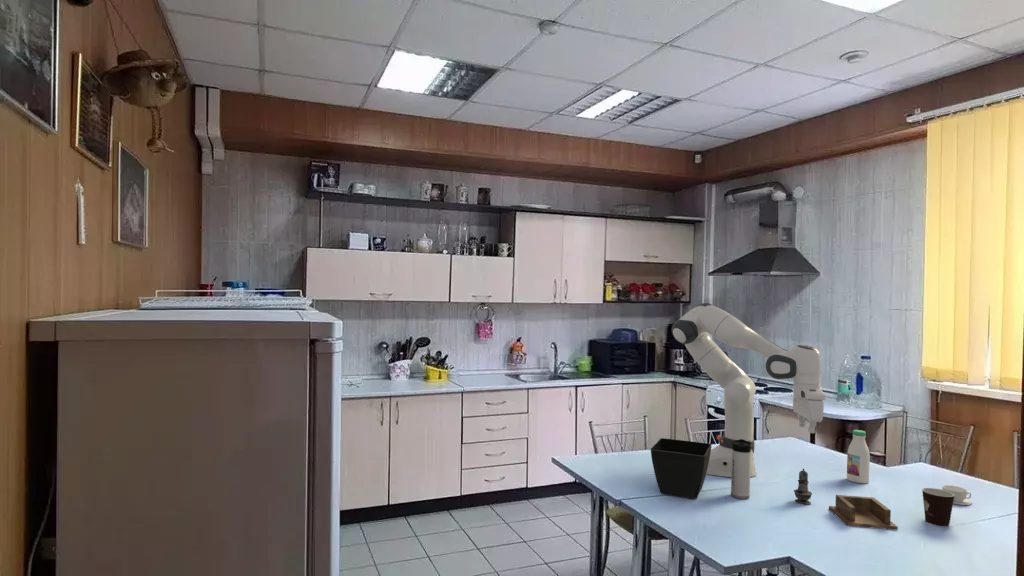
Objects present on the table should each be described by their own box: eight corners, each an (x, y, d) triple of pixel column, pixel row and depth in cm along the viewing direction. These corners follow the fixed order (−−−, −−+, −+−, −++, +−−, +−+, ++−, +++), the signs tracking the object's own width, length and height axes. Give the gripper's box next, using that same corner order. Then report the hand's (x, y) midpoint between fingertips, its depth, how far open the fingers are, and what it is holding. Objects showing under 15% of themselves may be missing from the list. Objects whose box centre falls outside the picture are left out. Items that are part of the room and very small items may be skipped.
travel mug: (749, 495, 218) (751, 440, 218) (748, 500, 212) (750, 444, 212) (731, 492, 221) (733, 438, 221) (730, 497, 215) (731, 441, 215)
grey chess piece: (810, 500, 214) (811, 467, 214) (813, 506, 209) (814, 471, 209) (792, 498, 216) (793, 465, 216) (794, 503, 210) (795, 469, 210)
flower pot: (648, 495, 215) (650, 448, 215) (659, 480, 232) (660, 437, 232) (703, 504, 207) (705, 455, 207) (710, 489, 224) (712, 443, 224)
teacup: (942, 503, 216) (943, 490, 216) (933, 495, 225) (934, 482, 225) (976, 507, 213) (976, 494, 213) (965, 498, 222) (966, 486, 222)
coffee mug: (954, 530, 191) (955, 498, 191) (921, 523, 195) (922, 493, 195) (951, 518, 200) (952, 489, 200) (920, 513, 205) (921, 483, 205)
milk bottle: (863, 478, 243) (864, 429, 243) (872, 484, 235) (874, 433, 235) (843, 477, 244) (844, 428, 244) (852, 483, 236) (853, 432, 236)
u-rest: (846, 525, 191) (847, 508, 191) (829, 508, 206) (829, 492, 206) (897, 529, 189) (898, 512, 189) (875, 512, 204) (876, 496, 204)
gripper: (788, 386, 225) (788, 423, 225) (807, 395, 205) (807, 435, 205) (806, 387, 224) (805, 424, 224) (827, 396, 204) (826, 436, 204)
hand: (806, 429), depth 214 cm, fingers open, 8 cm apart
